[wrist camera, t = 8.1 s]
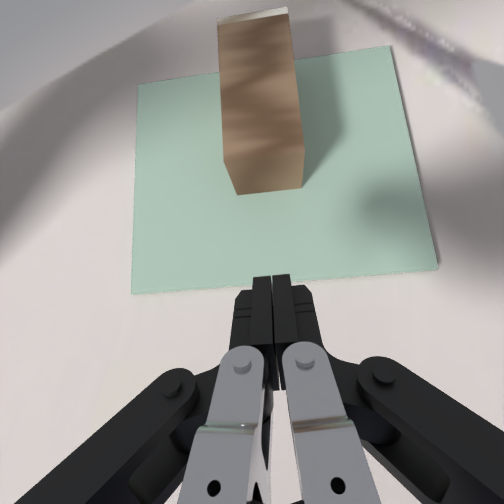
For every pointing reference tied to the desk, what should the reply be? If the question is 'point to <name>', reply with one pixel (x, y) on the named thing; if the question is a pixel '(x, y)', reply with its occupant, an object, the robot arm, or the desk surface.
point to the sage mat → (286, 201)
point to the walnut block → (260, 102)
